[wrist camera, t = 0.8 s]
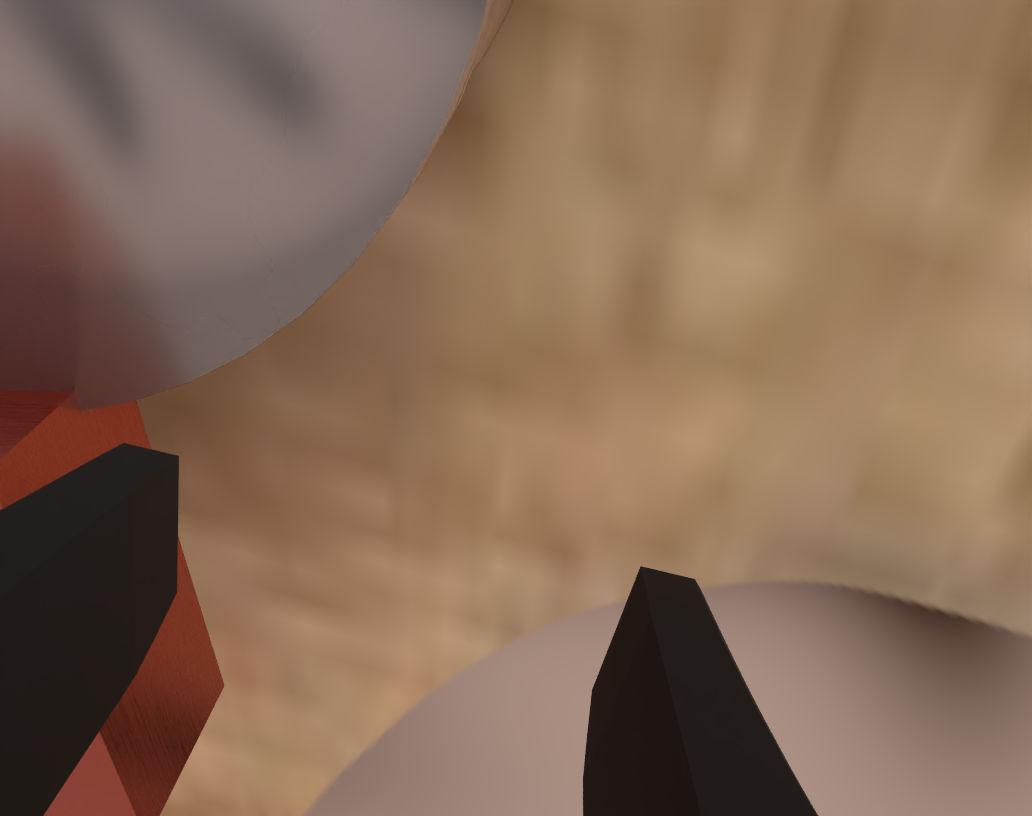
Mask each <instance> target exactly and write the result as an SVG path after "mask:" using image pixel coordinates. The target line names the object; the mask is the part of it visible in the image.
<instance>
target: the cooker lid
mask: <svg viewBox="0 0 1032 816" xmlns="http://www.w3.org/2000/svg"><path fill="white" fill-rule="evenodd" d="M496 3H497V0H0V510H1V509H3V508H5V507H7V506H9V505H11V504H13V503H14V502H16V501H18V500H20V499H22V498H24V497H25V496H27V495H29V494H31V493H33V492H34V491H36V490H38V489H40V488H42V487H43V486H45V485H47V484H49V483H51V482H52V481H54V480H56V479H58V478H60V477H61V476H63V475H65V474H67V473H69V472H70V471H72V470H74V469H76V468H78V467H79V466H81V465H83V464H85V463H87V462H89V461H90V460H92V459H94V458H96V457H98V456H100V455H101V454H103V453H105V452H107V451H109V450H111V449H113V448H115V447H117V446H119V445H121V444H122V443H127V444H131V445H135V446H139V447H143V448H147V449H151V447H150V444H149V441H148V438H147V435H146V431H145V428H144V425H143V422H142V418H141V415H140V412H139V409H138V406H137V402H136V400H137V399H141V398H144V397H147V396H150V395H153V394H156V393H159V392H162V391H165V390H168V389H171V388H174V387H177V386H180V385H183V384H186V383H189V382H191V381H193V380H195V379H197V378H199V377H201V376H203V375H205V374H207V373H209V372H211V371H213V370H215V369H217V368H219V367H221V366H223V365H225V364H227V363H229V362H231V361H233V360H235V359H237V358H239V357H241V356H243V355H245V354H247V353H248V352H250V351H251V350H252V349H254V348H255V347H257V346H258V345H259V344H261V343H262V342H264V341H265V340H266V339H268V338H269V337H271V336H272V335H273V334H275V333H276V332H278V331H279V330H280V329H282V328H283V327H285V326H286V325H287V324H289V323H290V322H292V321H293V320H294V319H296V318H297V317H299V316H300V315H301V314H303V313H304V312H305V311H306V310H307V309H308V308H309V307H310V306H311V305H312V304H313V303H314V302H315V301H316V300H317V299H318V298H319V297H320V296H321V295H322V294H323V293H324V292H325V291H326V290H327V289H328V288H329V287H330V286H331V285H332V284H333V283H334V282H335V281H336V280H337V279H338V278H339V277H340V276H341V275H342V274H343V273H344V272H345V271H346V270H347V269H349V268H350V267H351V266H352V265H353V264H354V262H355V261H356V260H357V258H358V257H359V256H360V254H361V253H362V252H363V250H364V249H365V248H366V246H367V245H368V244H369V242H370V241H371V240H372V238H373V237H374V236H375V234H376V233H377V232H378V230H379V229H380V228H381V226H382V225H383V224H384V222H385V221H386V220H387V218H388V217H389V216H390V214H391V213H392V212H393V210H394V209H395V208H396V206H397V205H398V204H399V202H400V201H401V200H402V198H403V197H404V195H405V194H406V193H407V191H408V190H409V188H410V187H411V186H412V184H413V183H414V181H415V180H416V179H417V177H418V176H419V174H420V173H421V172H422V170H423V168H424V167H425V165H426V163H427V161H428V159H429V157H430V156H431V154H432V152H433V150H434V148H435V147H436V145H437V143H438V141H439V139H440V137H441V136H442V134H443V132H444V130H445V128H446V127H447V125H448V123H449V121H450V119H451V117H452V116H453V114H454V112H455V110H456V108H457V107H458V105H459V103H460V101H461V99H462V96H463V94H464V91H465V88H466V86H467V83H468V81H469V78H470V76H471V73H472V70H473V68H474V65H475V63H476V60H477V57H478V55H479V52H480V50H481V47H482V45H483V42H484V39H485V37H486V34H487V32H488V29H489V27H490V24H491V21H492V19H493V15H494V11H495V7H496ZM223 688H224V683H223V679H222V676H221V673H220V670H219V666H218V663H217V660H216V657H215V654H214V650H213V647H212V644H211V641H210V637H209V634H208V631H207V628H206V625H205V621H204V618H203V615H202V612H201V608H200V605H199V602H198V599H197V596H196V592H195V589H194V586H193V583H192V579H191V576H190V573H189V570H188V567H187V563H186V560H185V557H184V554H183V551H182V547H181V544H180V541H179V538H178V565H177V594H176V596H175V598H174V600H173V602H172V604H171V606H170V608H169V610H168V612H167V614H166V617H165V619H164V621H163V623H162V625H161V627H160V629H159V631H158V633H157V635H156V637H155V639H154V641H153V643H152V645H151V647H150V649H149V651H148V653H147V655H146V657H145V659H144V661H143V662H142V664H141V666H140V668H139V670H138V672H137V674H136V676H135V677H134V679H133V680H132V682H131V683H130V685H129V687H128V688H127V690H126V691H125V693H124V694H123V696H122V697H121V699H120V701H119V702H118V704H117V705H116V707H115V708H114V710H113V711H112V713H111V714H110V716H109V717H108V719H107V720H106V722H105V723H104V725H103V727H102V728H101V730H100V731H99V733H98V734H97V736H96V737H95V739H94V740H93V742H92V743H91V745H90V746H89V748H88V749H87V751H86V752H85V754H84V755H83V757H82V758H81V760H80V761H79V763H78V764H77V766H76V767H75V769H74V770H73V772H72V773H71V775H70V776H69V778H68V779H67V781H66V782H65V784H64V785H63V787H62V788H61V790H60V791H59V793H58V794H57V796H56V797H55V799H54V801H53V802H52V804H51V805H50V807H49V808H48V810H47V811H46V813H45V814H44V816H160V814H161V812H162V810H163V808H164V806H165V804H166V802H167V800H168V798H169V796H170V794H171V792H172V790H173V788H174V786H175V784H176V782H177V780H178V778H179V776H180V774H181V772H182V770H183V768H184V766H185V764H186V762H187V760H188V758H189V756H190V754H191V752H192V750H193V748H194V746H195V744H196V742H197V740H198V738H199V736H200V734H201V732H202V730H203V728H204V726H205V724H206V722H207V720H208V718H209V716H210V714H211V712H212V710H213V708H214V706H215V704H216V702H217V700H218V698H219V696H220V694H221V692H222V690H223Z"/></svg>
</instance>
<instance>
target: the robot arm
mask: <svg viewBox="0 0 1032 816" xmlns="http://www.w3.org/2000/svg"><path fill="white" fill-rule="evenodd" d="M178 478H179V456H177V455H173V454H168V453H164V452H160V451H156V450H152V449H147V448H143V447H139V446H135V445H131V444H127V443H122V444H121V445H119V446H117V447H115V448H113V449H111V450H109V451H107V452H105V453H103V454H101V455H100V456H98V457H96V458H94V459H92V460H90V461H89V462H87V463H85V464H83V465H81V466H79V467H78V468H76V469H74V470H72V471H70V472H69V473H67V474H65V475H63V476H61V477H60V478H58V479H56V480H54V481H52V482H51V483H49V484H47V485H45V486H43V487H42V488H40V489H38V490H36V491H34V492H33V493H31V494H29V495H27V496H25V497H24V498H22V499H20V500H18V501H16V502H14V503H13V504H11V505H9V506H7V507H5V508H3V509H1V510H0V816H44V814H45V813H46V811H47V810H48V808H49V807H50V805H51V804H52V802H53V801H54V799H55V797H56V796H57V794H58V793H59V791H60V790H61V788H62V787H63V785H64V784H65V782H66V781H67V779H68V778H69V776H70V775H71V773H72V772H73V770H74V769H75V767H76V766H77V764H78V763H79V761H80V760H81V758H82V757H83V755H84V754H85V752H86V751H87V749H88V748H89V746H90V745H91V743H92V742H93V740H94V739H95V737H96V736H97V734H98V733H99V731H100V730H101V728H102V727H103V725H104V723H105V722H106V720H107V719H108V717H109V716H110V714H111V713H112V711H113V710H114V708H115V707H116V705H117V704H118V702H119V701H120V699H121V697H122V696H123V694H124V693H125V691H126V690H127V688H128V687H129V685H130V683H131V682H132V680H133V679H134V677H135V676H136V674H137V672H138V670H139V668H140V666H141V664H142V662H143V661H144V659H145V657H146V655H147V653H148V651H149V649H150V647H151V645H152V643H153V641H154V639H155V637H156V635H157V633H158V631H159V629H160V627H161V625H162V623H163V621H164V619H165V617H166V614H167V612H168V610H169V608H170V606H171V604H172V602H173V600H174V598H175V596H176V594H177V565H178ZM584 765H585V766H584V774H583V816H818V815H817V813H816V811H815V810H814V808H813V806H812V805H811V803H810V801H809V800H808V798H807V796H806V794H805V792H804V791H803V789H802V787H801V786H800V784H799V782H798V780H797V778H796V777H795V775H794V773H793V771H792V770H791V768H790V766H789V764H788V762H787V761H786V759H785V757H784V755H783V753H782V751H781V749H780V748H779V746H778V744H777V742H776V740H775V738H774V736H773V734H772V733H771V731H770V729H769V727H768V725H767V723H766V722H765V720H764V718H763V716H762V714H761V712H760V711H759V709H758V706H757V705H756V703H755V701H754V699H753V697H752V695H751V693H750V691H749V689H748V687H747V685H746V683H745V681H744V679H743V677H742V675H741V673H740V671H739V669H738V667H737V665H736V663H735V661H734V658H733V656H732V655H731V652H730V650H729V648H728V646H727V644H726V642H725V640H724V638H723V636H722V634H721V631H720V630H719V627H718V625H717V623H716V621H715V619H714V617H713V615H712V612H711V611H710V608H709V606H708V604H707V602H706V600H705V597H704V595H703V593H702V591H701V589H700V587H699V586H698V584H697V582H696V580H695V579H692V578H688V577H683V576H679V575H675V574H671V573H667V572H662V571H658V570H654V569H650V568H646V567H642V566H641V567H640V569H639V572H638V574H637V577H636V580H635V582H634V585H633V587H632V590H631V592H630V595H629V597H628V600H627V602H626V605H625V608H624V611H623V613H622V615H621V618H620V620H619V623H618V625H617V628H616V631H615V633H614V636H613V638H612V641H611V643H610V646H609V648H608V651H607V654H606V656H605V659H604V661H603V664H602V666H601V669H600V672H599V674H598V676H597V679H596V682H595V684H594V687H593V689H592V696H591V706H590V715H589V724H588V733H587V743H586V753H585V764H584Z"/></svg>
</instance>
